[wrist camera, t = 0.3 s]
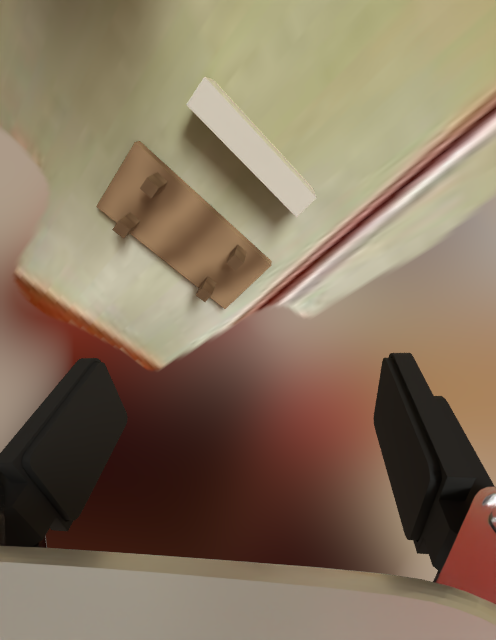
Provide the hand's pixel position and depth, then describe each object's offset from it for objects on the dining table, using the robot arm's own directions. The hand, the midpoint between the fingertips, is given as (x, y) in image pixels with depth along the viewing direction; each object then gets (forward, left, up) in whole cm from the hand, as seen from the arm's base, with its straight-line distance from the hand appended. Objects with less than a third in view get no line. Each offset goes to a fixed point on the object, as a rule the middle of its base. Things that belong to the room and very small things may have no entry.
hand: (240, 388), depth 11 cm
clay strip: (-4, +2, -35) cm, 35 cm away
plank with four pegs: (-4, -12, -35) cm, 37 cm away
